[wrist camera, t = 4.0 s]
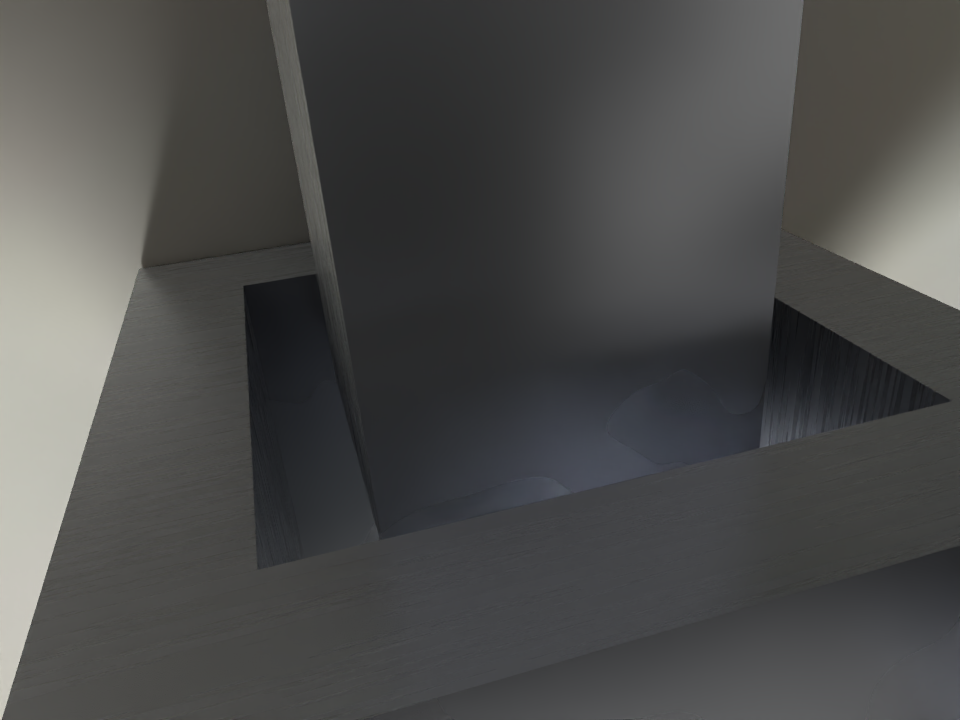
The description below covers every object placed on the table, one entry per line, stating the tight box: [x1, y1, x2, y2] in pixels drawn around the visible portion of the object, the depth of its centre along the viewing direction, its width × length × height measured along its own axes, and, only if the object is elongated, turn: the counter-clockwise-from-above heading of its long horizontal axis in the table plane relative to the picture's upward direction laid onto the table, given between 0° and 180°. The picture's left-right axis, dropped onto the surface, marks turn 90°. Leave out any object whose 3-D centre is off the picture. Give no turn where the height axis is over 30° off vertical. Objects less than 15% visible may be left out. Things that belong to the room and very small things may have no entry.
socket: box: [2, 229, 960, 720], centre depth 8 cm, size 7×6×6 cm
